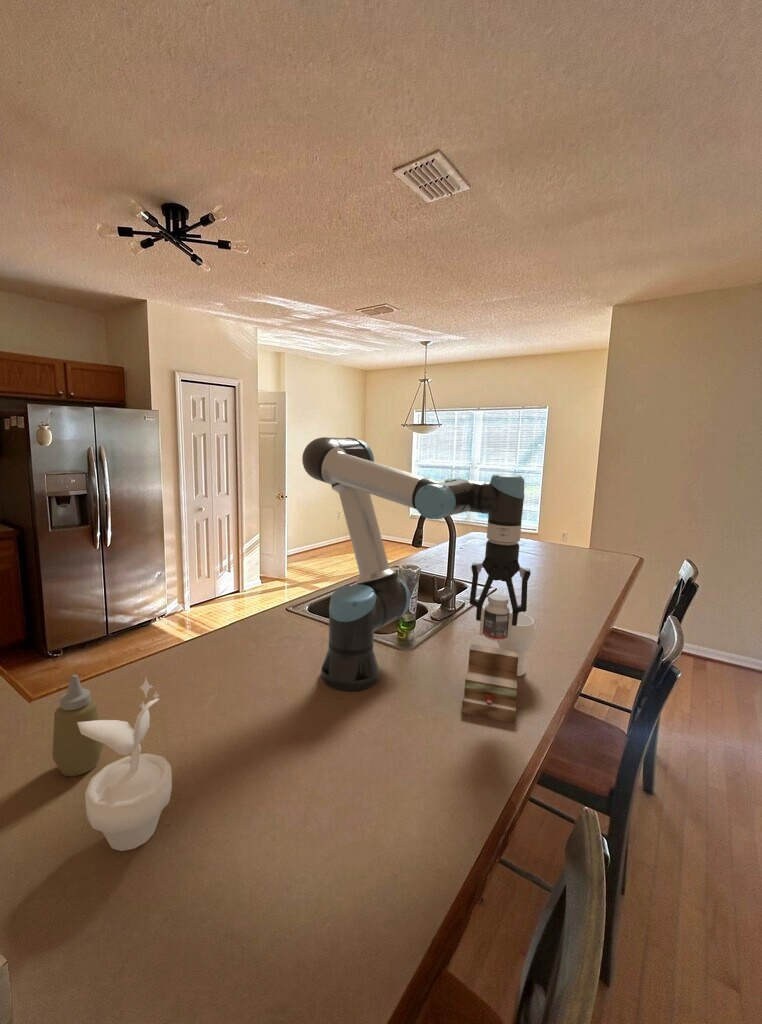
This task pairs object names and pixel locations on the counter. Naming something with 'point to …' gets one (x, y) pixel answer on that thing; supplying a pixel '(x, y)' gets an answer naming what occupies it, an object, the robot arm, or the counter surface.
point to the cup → (520, 640)
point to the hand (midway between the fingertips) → (495, 635)
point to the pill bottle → (496, 618)
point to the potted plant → (127, 782)
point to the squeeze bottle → (75, 731)
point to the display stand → (491, 683)
